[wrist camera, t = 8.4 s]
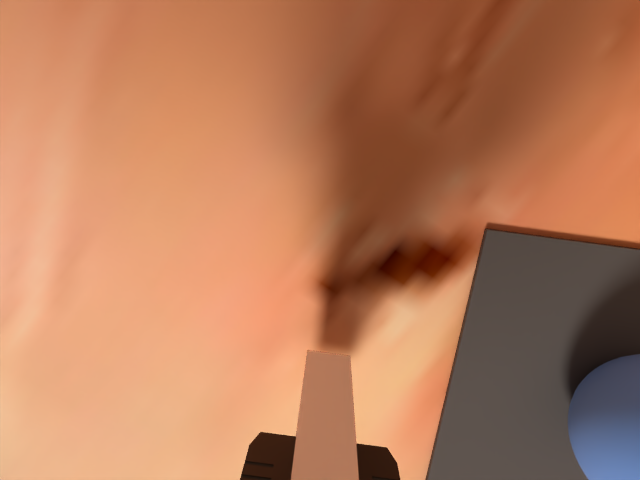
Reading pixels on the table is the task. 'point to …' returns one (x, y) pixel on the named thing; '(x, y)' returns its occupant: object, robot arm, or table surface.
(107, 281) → the table surface
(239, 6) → the table surface
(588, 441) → the ball
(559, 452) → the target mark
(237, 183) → the table surface
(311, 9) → the table surface
